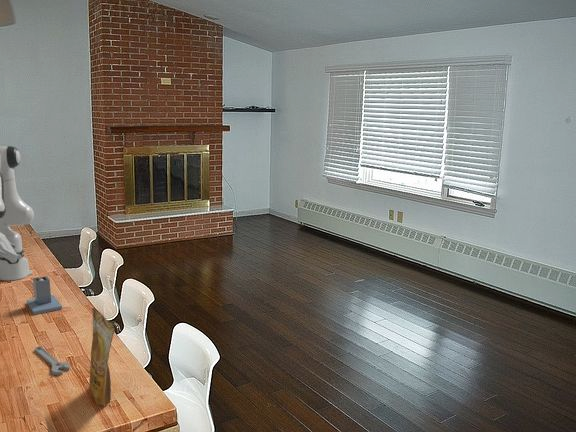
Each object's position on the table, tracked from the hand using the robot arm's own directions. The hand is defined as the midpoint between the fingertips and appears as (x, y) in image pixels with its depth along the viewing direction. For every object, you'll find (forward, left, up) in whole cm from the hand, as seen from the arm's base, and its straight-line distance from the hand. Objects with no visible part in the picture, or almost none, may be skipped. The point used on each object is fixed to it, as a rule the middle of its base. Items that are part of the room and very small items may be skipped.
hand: (17, 252), depth 251 cm
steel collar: (+9, +8, -23) cm, 26 cm away
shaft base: (+11, +8, -24) cm, 28 cm away
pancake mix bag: (+100, +8, -24) cm, 104 cm away
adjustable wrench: (+67, -1, -25) cm, 72 cm away
